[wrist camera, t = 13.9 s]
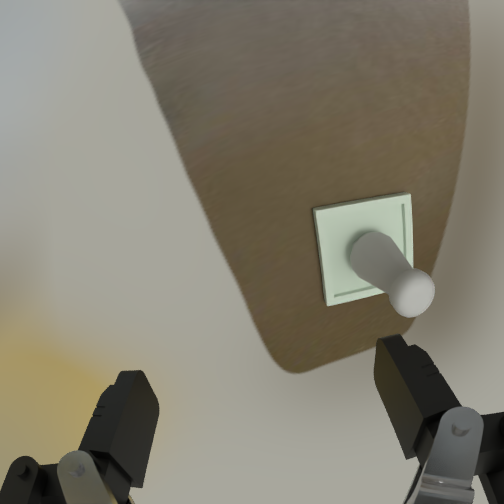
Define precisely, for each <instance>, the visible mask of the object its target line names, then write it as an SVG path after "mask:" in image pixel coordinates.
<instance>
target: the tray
mask: <svg viewBox="0 0 504 504" xmlns="http://www.w3.org/2000/svg"><path fill="white" fill-rule="evenodd" d="M312 209H313V215H314V222H315V229H316V236H317V243H318V251H319V259H320V267H321V275H322V283H323V292H324V301H325V303H326V305H327V306H331V305H336V304H340V303H344V302H348V301H352V300H357V299H361V298H365V297H369V296H373V295H377V294H380V293H384V291H382V290H380V289H378V288H377V287H375V286H373V285H371V284H370V283H368V282H366V281H364V280H363V279H361V278H359V277H358V276H357V274H356V273H355V272H354V271H353V269H352V266H351V260H350V256H351V252H352V248H353V243H354V242H355V241H357V240H358V239H359V238H360V237H361V236H362V235H364V234H366V233H369V232H381V233H383V234H385V235H387V236H389V237H391V238H392V240H393V241H394V242H395V244H396V245H397V247H398V248H399V249H400V251H401V252H402V254H403V255H404V256H405V258H406V259H407V261H408V262H409V264H410V265H411V266H412V268H413V228H412V207H411V194H409V193H406V192H402V193H396V194H390V195H384V196H378V197H372V198H366V199H360V200H355V201H349V202H343V203H338V204H332V205H327V206H321V207H316V208H312Z"/></svg>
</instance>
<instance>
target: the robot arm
mask: <svg viewBox="0 0 504 504" xmlns="http://www.w3.org/2000/svg"><path fill="white" fill-rule="evenodd" d="M374 380H375V384H376V387H377V390H378V392H379V394H380V397H381V399H382V401H383V404H384V406H385V408H386V411H387V413H388V416H389V418H390V420H391V423H392V425H393V427H394V430H395V433H396V435H397V438H398V440H399V442H400V445H401V448H402V450H403V453H404V455H405V458H406V460H407V459H410V458H413V457H416V456H417V458H418V461H419V463H420V464H419V466H418V468H417V471H416V474H415V476H414V478H413V481H412V483H411V486H410V488H409V490H408V493H407V495H406V497H405V499H404V502H403V504H472V503H473V499H474V489H472V488H471V484H472V480H473V476H475V475H478V476H479V478H480V481H481V483H482V486H483V489H484V491H485V494H486V497H487V500H488V502H489V504H504V412H500V413H494V414H487V415H480V414H479V413H478V412H477V411H475V410H474V409H471V408H469V407H462V405H461V404H460V403H459V401H458V400H457V398H456V396H455V395H454V393H453V392H452V390H451V388H450V387H449V385H448V384H447V382H446V381H445V379H444V377H443V376H442V374H441V373H439V370H438V368H437V367H436V365H434V362H433V361H432V359H431V358H430V356H429V355H428V353H427V352H426V351H424V350H423V349H421V348H420V347H418V346H417V345H411V346H408V345H407V344H406V342H405V341H404V339H403V337H402V336H401V335H400V334H395V335H391V336H386V337H382V338H379V339H378V340H377V343H376V355H375V364H374ZM96 406H97V408H95V410H94V412H93V417H91V419H90V422H89V424H88V426H87V429H86V432H85V434H84V436H83V439H82V441H81V444H80V446H79V449H78V451H72V452H69V453H67V454H66V455H65V456H63V457H62V458H61V460H60V461H59V463H57V464H49V465H39V464H38V463H37V462H36V461H35V460H34V459H33V458H32V457H29V456H22V457H19V458H17V459H16V460H15V461H14V462H13V463H12V464H11V466H10V468H9V470H8V473H7V475H6V478H5V480H4V483H3V486H2V488H1V491H0V504H135V503H134V501H133V499H132V498H131V496H130V495H129V491H130V487H136V488H142V487H143V482H144V478H145V473H146V468H147V464H148V460H149V454H150V450H151V446H152V442H153V438H154V434H155V429H156V425H157V421H158V417H159V403H158V400H157V397H156V395H155V394H154V392H153V390H152V388H151V386H150V384H149V382H148V380H147V378H146V376H145V374H144V372H143V371H141V370H136V371H135V370H134V371H121V372H120V373H119V375H118V377H117V379H116V382H115V384H114V385H110V386H109V387H108V388H107V389H106V390H105V391H104V392H103V393H102V394H101V396H100V398H99V401H98V403H97V405H96Z"/></svg>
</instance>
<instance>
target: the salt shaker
mask: <svg viewBox="0 0 504 504" xmlns="http://www.w3.org/2000/svg"><path fill="white" fill-rule="evenodd" d="M350 260H351V266H352V269H353V271H354V272H355V273H356V274H357V276H358V277H359V278H361V279H363V280H364V281H366V282H368V283H370V284H371V285H373V286H375V287H377V288H378V289H380V290H382V291H384V292H385V293H387V294H389V300H390V303H391V304H392V306H393V307H394V309H395V310H396V311H397V313H399V314H400V315H402V316H405V317H408V318H409V317H415V316H418V315H419V314H421V313H423V312H424V311H425V310H426V309H427V308H428V307H429V305H430V304H431V302H432V300H433V297H434V295H435V285H434V283H433V281H432V280H431V278H430V277H429V275H428V274H426V273H425V272H423V271H421V270H419V269H416V268H414V269H413V268H412V266H411V265H410V264H409V262H408V261H407V259H406V258H405V256H404V255H403V254H402V252H401V251H400V249H399V248H398V247H397V245H396V244H395V242H394V241H393V240H392V238H391V237H389V236H387V235H385V234H383V233H381V232H369V233H366V234H364V235H362V236H361V237H360V238H359V239H358V240H357V241H355V242H354V243H353V248H352V252H351V256H350Z"/></svg>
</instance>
